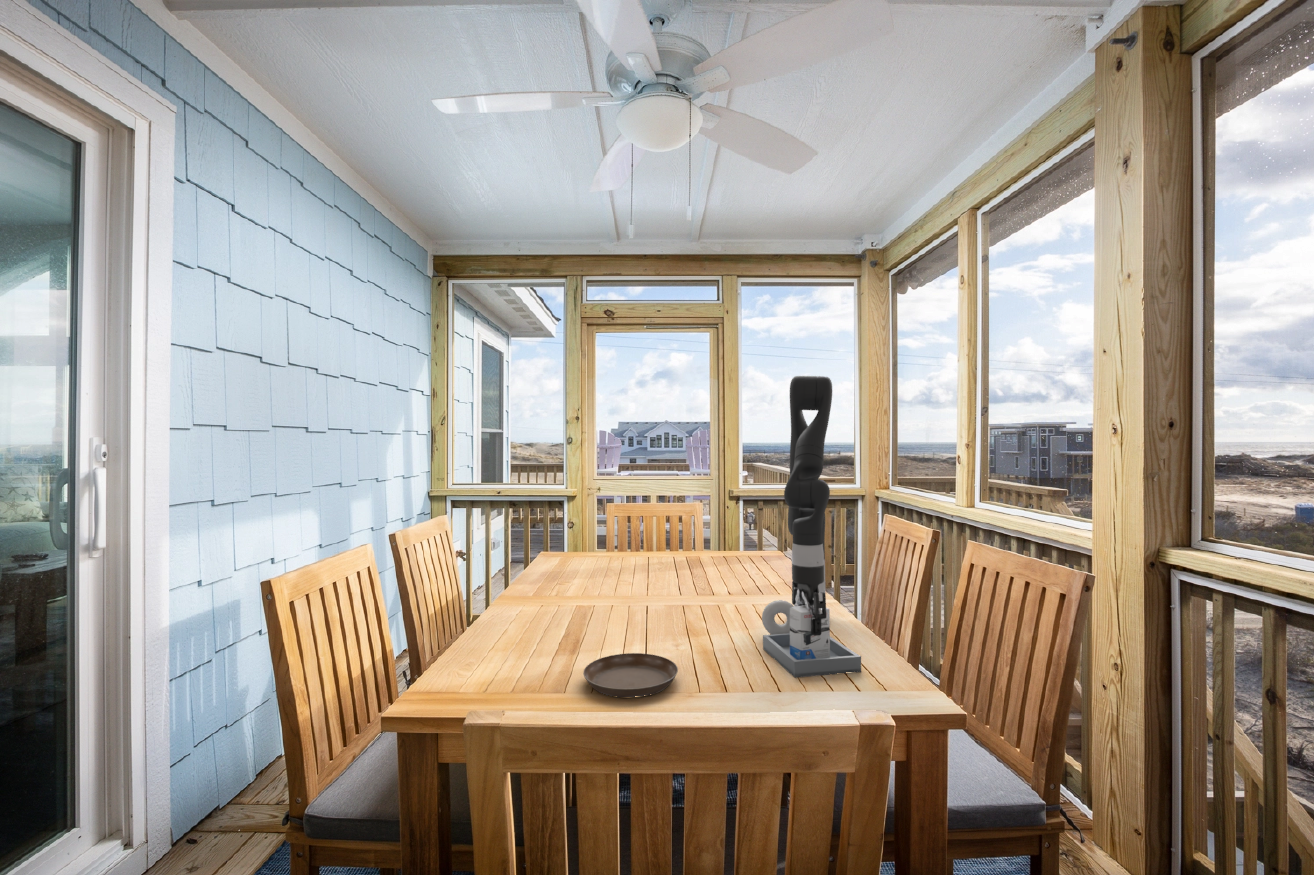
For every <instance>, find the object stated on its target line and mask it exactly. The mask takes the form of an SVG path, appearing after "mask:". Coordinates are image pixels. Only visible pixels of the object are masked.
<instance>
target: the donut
mask: <svg viewBox="0 0 1314 875" xmlns="http://www.w3.org/2000/svg"><path fill="white" fill-rule="evenodd" d="M791 607H794V605H793V604H792V602H789V601H786V600H783V599H778V600H773V601H770V603H768V604H767V605H766V606H765V607H764V609H763V610H762V614H761V621H762V625H763V627H764V629H765V630H766V631H767V633H768V634H769V635H772V634H786V633H790V608H791ZM777 614H783V615H785V616H786V621H785V622H784V623H783V624H779V623H777V622H776V620H775V617H776V615H777Z"/></svg>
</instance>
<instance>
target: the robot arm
mask: <svg viewBox="0 0 1314 875" xmlns="http://www.w3.org/2000/svg"><path fill="white" fill-rule="evenodd" d="M832 402H833V382H832V379H831V378H830V377H828V376H823V375H795V376H793V377H792V378H791V380H790V384H789V411H790V412H789V413H790V446H789V447H790V448H789V478H788V479H787V483H786V484H785V487H784V491H783V498H784V501H785V504H786V505H787V506H788V512H787V527H788V532H789V534H791V536H792V545H791V546H792V547H791V548H792V549H791V580H792V583H791V604H792V605H793V606H803V605H806V608H807V610H808V611H809V612H810V615H811V634H812V635H814V636H817V635H821V619H825V618H826V608H827V602H826V601H827V598H826V597H827V596H826V551H825V550H826V549H825V548H826V546H825V544H826V543H825V540H826V539H825V537H826V536H825V535H826V534H825V533H826V509H827V506H828V503H829V501H830V500H829V499H830V496H831V495H830V493H831V492H830V491H831V490H830V487H829V485H828V483H827V481H825V480H823V479H820V477H821V475H822V473H823V471H824V470H823V469H824V455H825V440H826V436H827V435H826V434H827V430H828V427H829V426H828V425H829V421H830V413H831V409H832V408H831V407H832ZM803 411H817V413H816V415H815V417H814V419H813V420H812V421H811V423H810V424H809V425H808V424H807V421H806V418H805V416H804V412H803ZM821 608H822V611H821ZM813 610H814V611H813Z"/></svg>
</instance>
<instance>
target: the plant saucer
mask: <svg viewBox="0 0 1314 875" xmlns="http://www.w3.org/2000/svg"><path fill="white" fill-rule="evenodd" d="M678 671H679V667H678V666H677V664H676V663H675V662H674V661H672V660H670V659H669V658H666V657H663V656H660V655H656V654H650V653H639V652H633V653H632V652H628V653H619V654H612V655H608V656H604V657H601V658H598V659H595V660H594V661H592V662H590V663H589V664H587V665H586V666H585V668H584V669H583V676H584V679H585V680H586V682H587V683H588V684H589V686H590V687H591V688H592V689H593V690H595V691H597V692H598V693H600V694H602V693H603V694H602V695H604V694H606V695H605V696H608V695H610V696H609V697H612V696H617V697H616V698H619V697H635V696H644V695H649V696H651V695H650V694H653V695H655V693H656V694H658V693H660V692H662V691H664V690H665V689H667V687H668V686H670V685H671V684H672V682H673V681H674V680H675V678H676V676H677V675H678V673H679V672H678Z"/></svg>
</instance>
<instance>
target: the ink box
mask: <svg viewBox="0 0 1314 875" xmlns="http://www.w3.org/2000/svg"><path fill="white" fill-rule="evenodd" d="M793 606H794V605H793ZM813 611H814V610H813ZM821 611H822V608H821ZM830 612H831V611H830V608H828V607H826V618H825V619H821V635H817V636H814V635H812V634H811V615H810V612H809V611H808V610H807V608H806V605H803V606H794V607H791V608H790V655H792V656H793V657H794V658H795V659H797V660H804V659H816V658H828V657H830V637H831V636H830V635H831V634H830V632H831V629H830V627H831V626H830V625H831V624H830V620H831V619H830V617H831V616H830Z"/></svg>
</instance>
